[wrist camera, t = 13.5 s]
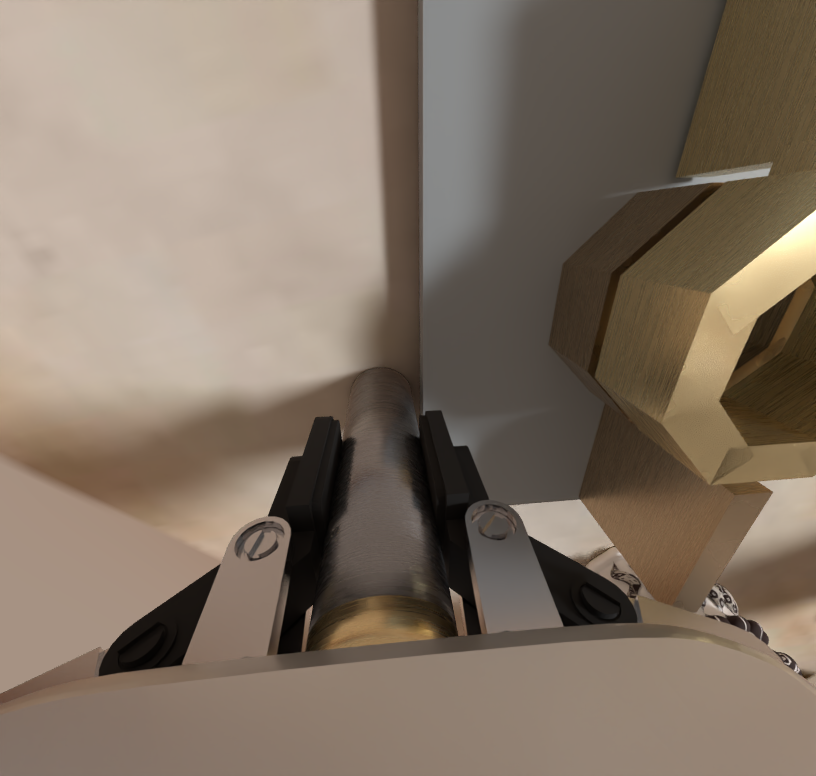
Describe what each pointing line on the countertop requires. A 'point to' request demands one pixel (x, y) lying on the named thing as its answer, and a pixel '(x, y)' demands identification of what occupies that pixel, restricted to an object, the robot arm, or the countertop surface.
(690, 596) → the fixed leaf
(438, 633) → the hinge pin
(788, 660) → the decorative candle
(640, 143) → the slate board
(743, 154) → the brass box-end wrench
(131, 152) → the countertop surface
